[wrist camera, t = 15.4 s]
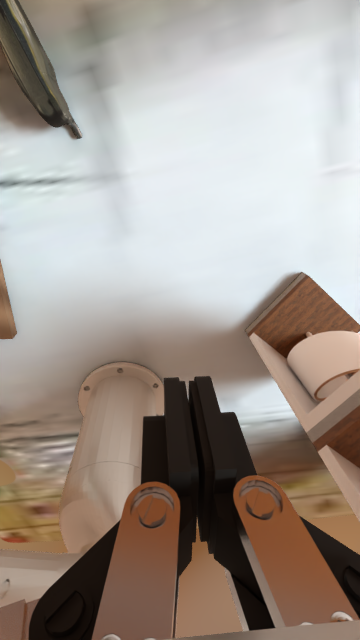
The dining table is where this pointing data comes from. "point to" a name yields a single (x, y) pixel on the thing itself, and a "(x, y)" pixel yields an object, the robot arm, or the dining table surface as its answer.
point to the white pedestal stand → (317, 373)
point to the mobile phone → (32, 66)
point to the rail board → (5, 311)
